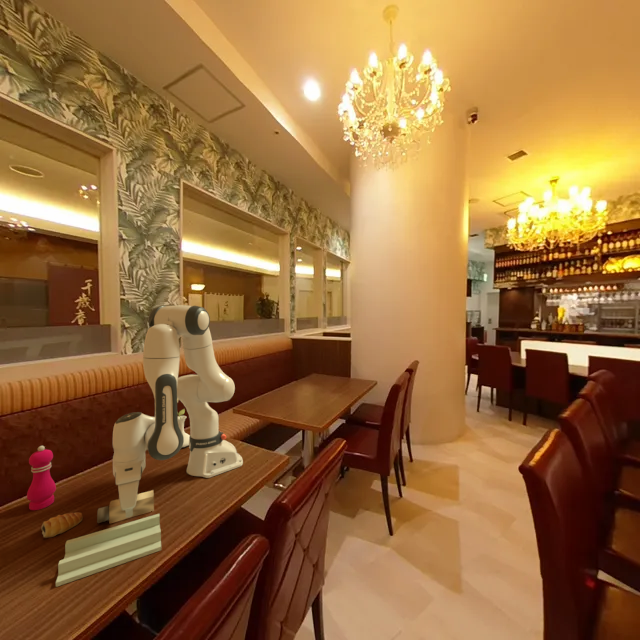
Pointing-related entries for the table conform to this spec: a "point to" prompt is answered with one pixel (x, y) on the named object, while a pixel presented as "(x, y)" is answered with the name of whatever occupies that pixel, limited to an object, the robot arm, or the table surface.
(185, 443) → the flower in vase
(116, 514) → the grey-capped wooden block
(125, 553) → the grooved moulding strip
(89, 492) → the table surface
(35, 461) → the pepper mill
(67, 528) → the pastry
